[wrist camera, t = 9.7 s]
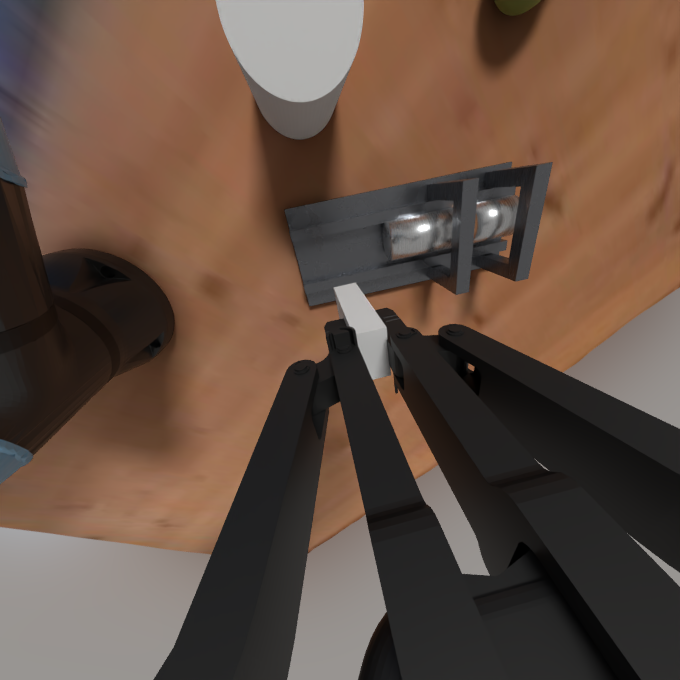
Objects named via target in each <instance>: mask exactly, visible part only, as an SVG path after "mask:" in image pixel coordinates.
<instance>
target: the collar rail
mask: <svg viewBox="0 0 680 680" xmlns="http://www.w3.org/2000/svg"><path fill="white" fill-rule="evenodd" d="M552 163H553V162H550V163H543V164H536V165H528V166H521V167H514V168H511V166H512V162H507V163H502V164H498V165H493V166H488V167H483V168H479V169H474V170H469V171H464V172H460V173H455V174H450V175H445V176H441V177H436V178H431V179H426V180H422V181H417V182H412V183H407V184H403V185H398V186H393V187H388V188H384V189H379V190H374V191H369V192H365V193H360V194H355V195H350V196H346V197H341V198H336V199H331V200H327V201H322V202H317V203H312V204H308V205H303V206H298V207H294V208H289V209H285V210H284V211H285V214H286V218H287V222H288V226H289V230H290V231H289V232H290V236H291V240H292V243H293V245H294V249H295V253H296V256H297V260H298V264H299V268H300V272H301V275H302V279H303V285H304V289H305V293H306V295H307V298H308V302H309V306H313V305H318V304H322V303H327V302H331V301H336V298H335V293H334V287H338V286H342V285H347V284H351V283H356V284H357V285H358V287H359V288H360V290H361V291H362V293H363V294H367V293H372V292H376V291H380V290H385V289H389V288H394V287H398V286H403V285H407V284H412V283H416V282H421V281H425V280H430V279H432V280H433V281H435V282H436V283H438V284H440V285H441V286H443V287H444V288H446V289H448V290H449V291H451V292H452V293H454V294H456V295H457V294H462V293H466V292H469V284H470V273H471V270H475V269H479V268H482V269H485V270H487V271H490V272H492V273H495V274H498V275H500V276H503V277H505V278H508V279H510V280H513V281H520V280H524V279H528V276H529V271H530V267H531V262H532V257H533V252H534V248H535V243H536V238H537V233H538V229H539V224H540V219H541V215H542V210H543V205H544V200H545V196H546V191H547V186H548V182H549V177H550V172H551V167H552ZM518 186H521V190H520V196H519V202H518V208H517V214H516V220H515V226H514V232H513V238H512V245H511V251H510V257H509V258H507V257H503V256H500V255H499V251H504V250H506V246H507V240H503V239H501V237H500V238H495V239H490V240H486V241H481V242H476V243H473V240H474V229H475V218H476V207H477V202H481V201H486V200H490V199H495V198H500V197H505V196H509V195H515V188H516V187H518ZM452 207H453V222H452V243H451V248H449V249H444V250H439V251H435V252H430V253H425V254H421V255H416V256H412V257H407V258H402V259H398V260H393V261H389V260H388V258H387V256H386V253H385V250H384V245H383V225H384V223H385V222H386V221H391V220H396V219H400V218H405V217H410V216H414V215H419V214H424V213H429V212H433V211H438V210H443V209H448V208H452Z"/></svg>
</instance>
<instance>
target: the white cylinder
mask: <svg viewBox="0 0 680 680" xmlns="http://www.w3.org/2000/svg"><path fill="white" fill-rule="evenodd" d="M216 4H217V8H218V13H219V17H220V20H221V23H222V26H223V29H224V32H225V35H226V37H227V40H228V42H229V44H230V46H231V48H232V50H233V53H234V55H235V57H236V59H237V61H238V63H239V66H240V68H241V70H242V72H243V74H244V76H245V79H246V81H247V83H248V85H249V87H250V90H251V92H252V94H253V96H254V98H255V100H256V103H257V105H258V107H259V109H260V111H261V113H262V115H263V116H264V118H265V119H266V121H267V122H268V123H269V124H270V125H271V126H272V127H273V128H274V129H275V130H276V131H277V132H279V133H280V134H282V135H284V136H286V137H288V138H292V139H298V140H301V139H308V138H311V137H313V136H315V135H317V134H318V133H319V132H320V131H322V130H323V129H324V127H325V126H326V125H327V124H328V122H329V120H330V118H331V116H332V114H333V111H334V109H335V106H336V104H337V101H338V99H339V96H340V93H341V91H342V88H343V86H344V83H345V81H346V78H347V75H348V73H349V70H350V68H351V65H352V63H353V60H354V57H355V55H356V52H357V49H358V45H359V41H360V37H361V31H362V24H363V10H364V1H363V0H216Z"/></svg>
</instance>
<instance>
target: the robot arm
mask: <svg viewBox="0 0 680 680" xmlns="http://www.w3.org/2000/svg"><path fill="white" fill-rule="evenodd" d="M24 187H26V188H28V187H27V182H26V179H25V178H23V177H22V176H21V175H20V172H19V170H18V167H17V164H16V161H15V158H14V155H13V152H12V149H11V146H10V144H9V141H8V138H7V135H6V132H5V129H4V126H3V123H2V120H1V118H0V484H1V483H2V482H4V481H5V480H6V479H7V478H8V477H10V476H11V475H12V474H13V473H14V472H16V471H17V470H18V469H19V468H20V467H22V466H25V465H26V464H28V463H29V462H30V461H31V460H32V459H33V455H34V454H35V453H36V452H37V451H38V450H39V449H40V448H41V447H42V446H43V445H44V444H45V443H46V442H47V441H48V440H49V439H50V438H51V437H52V436H53V435H54V434H56V433H57V432H58V431H59V430H60V429H61V428H62V427H63V426H64V425H65V424H66V423H67V422H68V421H69V420H70V419H71V418H72V417H73V416H74V415H75V414H76V413H77V412H78V411H79V410H80V409H81V408H82V407H83V406H84V405H85V404H86V403H87V402H88V401H89V400H90V399H91V398H92V397H93V396H94V395H95V394H96V393H97V392H98V391H99V390H100V389H101V388H102V387H103V386H104V385H105V384H106V383H107V382H109V381H110V380H111V379H112V378H113V377H115V376H117V375H119V374H122V373H124V372H126V371H128V370H131V369H133V368H135V367H138V366H140V365H142V364H144V363H146V362H148V361H150V360H151V359H153V358H154V357H155V356H157V355H158V354H159V353H160V352H161V350H162V349H163V348H164V347H165V346H166V345H167V344H168V342H169V341H170V339H171V337H172V334H173V330H174V316H173V311H172V308H171V306H170V303H169V301H168V299H167V297H166V296H165V294H164V293H163V291H162V290H161V289H160V287H159V286H158V285H157V284H156V283H155V282H154V281H153V280H152V279H151V278H150V277H149V276H148V275H147V274H145V273H144V272H143V271H142V270H140V269H139V268H137V267H136V266H134V265H133V264H131V263H129V262H127V261H125V260H123V259H121V258H119V257H116V256H114V255H111V254H108V253H105V252H101V251H96V250H90V249H68V250H63V251H58V252H54V253H50V254H46V255H43V256H42V254H41V250H40V247H39V243H38V239H37V236H36V232H35V228H34V225H33V221H32V217H31V213H30V209H29V205H28V201H27V197H26V193H25V189H24ZM334 293H335V298H336V303H337V308H338V313H339V318H340V319H339V320H334V321H330V322H327V323H326V325H325V327H324V329H325V333H326V340H327V344H328V348H329V354H328V356H327V357H326V358H325V359H324V360H323V361H321V362H319V363H317V364H316V363H315V362H314V361H311V360H301V361H298V362H295V363H293V364H292V365H291V366H290V367H289V368H288V369H287V371H286V373H285V376H284V378H283V381H282V383H281V385H280V388H279V390H278V393H277V395H276V398H275V400H274V403H273V405H272V408H271V410H270V412H269V415H268V417H267V420H266V422H265V425H264V427H263V430H262V432H261V435H260V437H259V439H258V442H257V444H256V447H255V449H254V452H253V454H252V457H251V459H250V461H249V464H248V466H247V469H246V471H245V474H244V476H243V479H242V481H241V484H240V486H239V488H238V491H237V493H236V496H235V498H234V501H233V503H232V506H231V508H230V511H229V513H228V515H227V518H226V520H225V523H224V525H223V528H222V530H221V533H220V535H219V537H218V540H217V542H216V545H215V547H214V550H213V552H212V555H211V557H210V560H209V562H208V564H207V567H206V570H205V572H204V574H203V577H202V579H201V582H200V584H199V587H198V589H197V591H196V594H195V596H194V599H193V601H192V604H191V606H190V609H189V611H188V613H187V616H186V619H185V621H184V623H183V626H182V628H181V631H180V633H179V636H178V638H177V640H176V643H175V645H174V648H173V649H172V651H171V653H170V654H169V656H168V657H167V659H166V661H165V662H164V664H163V665H162V667H161V669H160V670H159V672H158V674H157V675H156V677H155V678H154V680H287V677H288V671H289V667H290V661H291V656H292V650H293V645H294V640H295V633H296V626H297V620H298V613H299V606H300V600H301V594H302V586H303V580H304V573H305V567H306V561H307V554H308V547H309V541H310V534H311V528H312V521H313V514H314V508H315V501H316V494H317V488H318V481H319V475H320V468H321V461H322V455H323V448H324V441H325V435H326V428H327V422H328V415H329V407H331V406H332V405H334V404H336V403H338V402H341V406H342V411H343V415H344V420H345V424H346V428H347V433H348V437H349V442H350V446H351V451H352V455H353V460H354V464H355V469H356V473H357V478H358V482H359V487H360V491H361V496H362V500H363V504H364V509H365V513H366V518H367V523H368V528H369V533H370V537H371V542H372V547H373V551H374V556H375V560H376V565H377V569H378V574H379V578H380V582H381V587H382V591H383V596H384V600H385V605H386V609H387V612H386V614H385V615H384V617H383V618H382V619H381V621H380V622H379V624H378V626H377V627H376V629H375V631H374V633H373V635H372V637H371V640H370V642H369V645H368V647H367V650H366V653H365V656H364V659H363V663H362V666H361V671H360V674H359V678H358V680H680V587H679V586H678V585H677V584H676V583H675V582H674V581H673V579H672V578H670V576H669V575H668V574H667V573H666V572H665V571H664V570H663V569H662V568H661V567H660V566H659V565H658V564H657V563H656V562H655V561H654V560H653V559H652V558H651V557H650V556H649V555H648V554H647V553H646V552H645V551H644V550H643V549H642V548H641V547H640V546H639V545H638V544H637V543H636V542H635V541H634V540H633V539H632V538H631V537H630V536H632V537H633V538H634V539H635V540H637V541H638V542H639V543H640V544H642V545H643V546H645V547H646V548H647V549H648V550H650V551H651V552H652V553H654V554H655V555H656V556H658V557H659V558H660V559H662V560H663V561H664V562H665V563H667V564H668V565H670V566H671V567H673V568H674V569H676V570H677V571H679V572H680V429H678V428H676V427H674V426H672V425H670V424H668V423H666V422H664V421H662V420H660V419H657V418H656V417H653V416H651V415H649V414H647V413H645V412H643V411H641V410H639V409H637V408H635V407H633V406H631V405H629V404H626V403H624V402H622V401H620V400H618V399H616V398H614V397H612V396H610V395H608V394H606V393H603V392H602V391H600V390H597V389H595V388H593V387H591V386H589V385H587V384H585V383H583V382H581V381H579V380H577V379H574V378H573V377H570V376H568V375H566V374H564V373H562V372H560V371H558V370H556V369H554V368H552V367H550V366H548V365H545V364H543V363H541V362H539V361H537V360H535V359H533V358H531V357H529V356H527V355H525V354H523V353H521V352H518V351H516V350H514V349H512V348H510V347H508V346H506V345H504V344H502V343H500V342H498V341H496V340H494V339H491V338H489V337H487V336H485V335H483V334H481V333H479V332H477V331H475V330H473V329H471V328H469V327H466V326H463V325H458V324H449V325H445V326H443V327H441V328H440V329H439V331H438V335H430V336H424V335H422V334H421V333H420V332H419V331H418V330H416V329H414V328H410V327H407V326H406V325H405V324H404V323H403V322H402V320H401V319H399V317H398V316H397V315H396V313H395V312H394V311H393V310H391V309H388V308H383V309H379V310H374V308H373V307H372V306H371V304H370V303H369V301H368V300H367V298H366V297H365V295H364V294H363V293H362V291H361V290H360V288H359V287H358V285H357V284H356V283H351V284H347V285H342V286H338V287H334ZM468 363H469V364H471V365H473V366H474V367H475V368H474V371H471V370H470V369H468ZM390 367H391V369H392V371H393V374H394V386H395V393H398V389H399V391H400V393H401V395H402V397H403V399H404V400H405V402H406V404H407V406H408V408H409V410H410V412H411V414H412V416H413V417H414V419H415V421H416V423H417V425H418V427H419V429H420V431H421V433H422V434H423V436H424V438H425V440H426V442H427V444H428V446H429V448H430V450H431V451H432V453H433V455H434V457H435V459H436V461H437V463H438V465H439V466H440V468H441V470H442V472H443V474H444V476H445V478H446V480H447V482H448V484H449V485H450V487H451V489H452V491H453V493H454V495H455V497H456V499H457V501H458V503H459V504H460V506H461V508H462V510H463V512H464V514H465V516H466V518H467V520H468V521H469V523H470V525H471V527H472V529H473V531H474V533H475V535H476V538H477V540H478V543H479V548H480V551H481V555H482V558H483V560H484V563H485V565H486V568H487V570H488V572H489V574H490V576H484V575H470V574H462V573H461V571H460V568H459V566H458V564H457V562H456V560H455V557H454V555H453V553H452V550H451V548H450V546H449V544H448V541H447V539H446V537H445V535H444V532H443V530H442V528H441V525H440V523H439V521H438V519H437V517H436V515H435V513H434V512H433V510H432V509H431V507H429V506H428V505H426V503H425V501H424V500H423V498H422V495H421V493H420V491H419V488H418V486H417V484H416V481H415V479H414V477H413V474H412V472H411V470H410V467H409V465H408V462H407V460H406V458H405V455H404V453H403V451H402V448H401V446H400V444H399V441H398V439H397V436H396V434H395V432H394V429H393V427H392V425H391V422H390V420H389V418H388V415H387V413H386V411H385V408H384V406H383V403H382V401H381V399H380V396H379V394H378V392H377V389H376V387H375V385H374V382H373V379H377V378H381V377H385V376H389V375H391V370H390ZM535 459H536V460H537V461H538V462H539V463H541V464H542V465H543V466H544V467H546V468H547V469H548V470H549V471H548V470H546V469H544V468H543V467H542V466H541V465H540V464H538V462H537V461H536V460H535ZM626 532H627V533H628V534H629V535H630V536H629V535H628V534H627V533H626Z"/></svg>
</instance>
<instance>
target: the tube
mask: <svg viewBox="0 0 680 680" xmlns="http://www.w3.org/2000/svg"><path fill="white" fill-rule="evenodd" d="M518 202H519V197H518V196H516V195H509V196H505V197H500V198H495V199H490V200H486V201H481V202H477V207H476V218H475V229H474V240H473V243H476V242H481V241H486V240H490V239H495V238H500V237H504V236H509V235H512V234H513V232H514V226H515V220H516V214H517V208H518ZM452 222H453V207H452V208H448V209H443V210H438V211H433V212H429V213H424V214H419V215H414V216H410V217H405V218H400V219H396V220H391V221H386V222H385V223H384V225H383V245H384V250H385V253H386V256H387V258H388V260H389V261H393V260H398V259H402V258H407V257H412V256H416V255H421V254H425V253H430V252H435V251H439V250H444V249H449V248H451V243H452Z"/></svg>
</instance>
